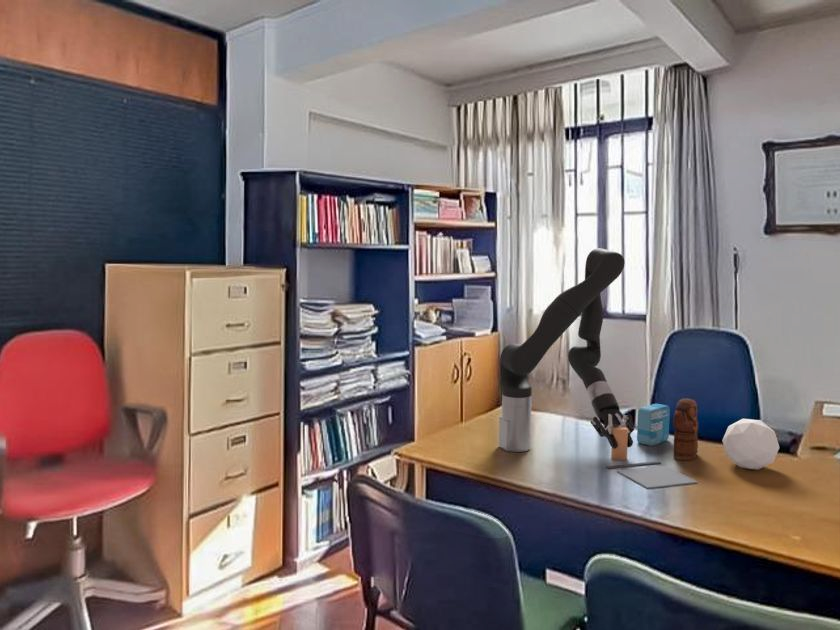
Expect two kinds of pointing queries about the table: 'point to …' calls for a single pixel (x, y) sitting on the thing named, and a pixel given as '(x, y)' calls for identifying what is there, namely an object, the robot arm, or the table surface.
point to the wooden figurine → (685, 430)
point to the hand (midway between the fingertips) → (623, 446)
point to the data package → (653, 424)
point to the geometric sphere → (750, 444)
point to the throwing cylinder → (620, 443)
